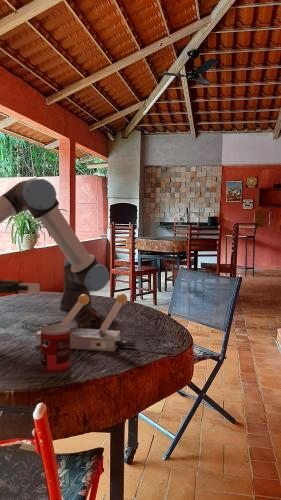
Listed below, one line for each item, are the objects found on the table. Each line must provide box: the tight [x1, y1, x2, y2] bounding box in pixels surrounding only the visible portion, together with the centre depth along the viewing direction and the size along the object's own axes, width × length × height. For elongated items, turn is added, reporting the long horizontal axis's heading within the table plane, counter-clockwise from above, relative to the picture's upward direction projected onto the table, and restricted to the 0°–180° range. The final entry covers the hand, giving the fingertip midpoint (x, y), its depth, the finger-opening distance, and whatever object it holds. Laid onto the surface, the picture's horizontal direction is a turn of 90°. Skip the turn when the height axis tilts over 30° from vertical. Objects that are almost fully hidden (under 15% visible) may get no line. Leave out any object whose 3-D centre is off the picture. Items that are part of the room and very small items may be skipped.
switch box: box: [35, 327, 137, 353], centre depth 123 cm, size 10×32×4 cm, turn 81°
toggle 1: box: [59, 294, 89, 327], centre depth 124 cm, size 4×4×15 cm
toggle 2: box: [98, 293, 128, 335], centre depth 122 cm, size 4×4×15 cm
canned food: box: [40, 324, 71, 373], centre depth 104 cm, size 8×8×11 cm
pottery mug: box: [75, 308, 104, 328], centre depth 145 cm, size 12×10×8 cm
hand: (38, 287), depth 125 cm, fingers closed
